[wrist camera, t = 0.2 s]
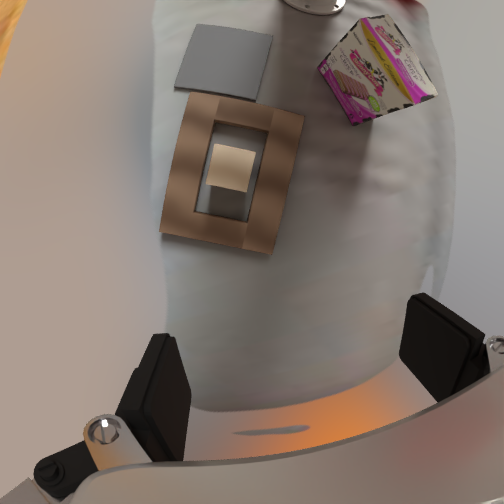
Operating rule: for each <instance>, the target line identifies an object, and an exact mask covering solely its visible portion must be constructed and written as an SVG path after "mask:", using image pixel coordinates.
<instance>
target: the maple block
mask: <svg viewBox="0 0 504 504" xmlns="http://www.w3.org/2000/svg"><path fill="white" fill-rule="evenodd" d="M255 154H256V152H253V151H249V150H244V149H240V148H235V147H230V146H225V145H220V144H215V145H214V149H213V153H212V157H211V161H210V166H209V170H208V175H207V179H206V184H209V185H214V186H219V187H224V188H229V189H234V190H238V191H243V192H247V188H248V184H249V180H250V175H251V171H252V167H253V162H254V158H255Z"/></svg>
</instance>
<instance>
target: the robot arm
mask: <svg viewBox="0 0 504 504" xmlns="http://www.w3.org/2000/svg"><path fill="white" fill-rule="evenodd" d="M283 1H285V2H286V3H287V4H289V5H290V6H292V7H294V8H296V9H298V10H301V11H304V12H307V13H311V14H317V15H329V14H334V13H336V12H338V11H340V10H341V9H342V8H343V6H344V5H345V3H346V0H283ZM484 337H485V334H484V333H483V332H481V331H480V330H479V329H477V328H476V327H474V326H473V325H472V324H470V323H469V322H467V321H466V320H464V319H463V318H462V317H460V316H459V315H457V314H456V313H454V312H453V311H451V310H450V309H448V308H447V307H445V306H444V305H442V304H441V303H439V302H438V301H436V300H435V299H433V298H432V297H430V296H429V295H427V294H426V293H419V294H415V295H412V296H411V298H410V299H409V300H408V303H407V309H406V316H405V323H404V329H403V334H402V340H401V345H400V350H399V356H400V359H401V360H402V362H403V363H404V364H405V365H406V366H407V367H408V368H409V370H410V371H411V372H412V373H413V374H414V375H415V376H416V378H417V379H418V380H419V381H420V382H421V383H422V385H423V386H424V387H425V388H426V389H427V391H428V392H429V393H430V394H431V395H432V396H433V397H434V399H435V400H436V401H437V402H438V403H436V404H434V405H433V406H431V407H429V408H426V409H424V410H422V411H420V412H418V413H415V414H413V415H411V416H409V417H406V418H404V419H401V420H399V421H396V422H394V423H391V424H389V425H386V426H383V427H381V428H378V429H375V430H372V431H369V432H366V433H363V434H360V435H357V436H353V437H350V438H347V439H343V440H340V441H336V442H333V443H329V444H324V445H320V446H316V447H312V448H307V449H302V450H297V451H291V452H286V453H280V454H273V455H266V456H258V457H249V458H239V459H227V460H211V461H210V460H209V461H183V458H184V449H185V441H186V433H187V426H188V418H189V411H190V404H191V389H190V386H189V383H188V380H187V377H186V373H185V370H184V367H183V364H182V360H181V357H180V353H179V350H178V346H177V343H176V339H175V337H170V335H169V334H168V333H162V334H153V336H152V338H151V340H150V342H149V344H148V347H147V349H146V351H145V353H144V355H143V358H142V360H141V362H140V364H139V367H138V368H135V370H134V371H133V373H132V375H131V378H130V380H129V382H128V384H127V387H126V389H125V391H124V394H123V396H122V398H121V401H120V403H119V405H118V408H117V410H116V413H115V415H111V414H104V415H100V416H97V417H95V418H93V419H91V420H90V421H89V422H88V423H87V424H86V426H85V428H84V432H83V436H84V441H82V442H79V443H78V444H75V445H73V446H71V447H69V448H66V449H64V450H62V451H60V452H57V453H55V454H53V455H50V456H48V457H45V458H44V459H42V460H40V461H39V462H38V463H37V464H36V466H35V469H34V479H33V480H31V479H30V478H27V479H26V480H25V481H23V482H22V483H21V484H19V485H18V486H17V487H16V488H14V489H13V490H11V491H10V492H9V493H8V494H6V495H5V496H3V497H2V498H1V499H0V504H504V337H503V336H492V337H490V338H488V339H487V342H486V344H483V340H484Z"/></svg>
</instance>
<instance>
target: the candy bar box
mask: <svg viewBox="0 0 504 504" xmlns="http://www.w3.org/2000/svg"><path fill="white" fill-rule="evenodd" d="M317 68H318V69H319V71H320V72H321V74H322V75H323V77H324V78H325V80H326V81H327V83H328V84H329V86H330V88H331V89H332V91H333V92H334V94H335V96H336V97H337V99H338V101H339V102H340V104H341V106H342V107H343V109H344V111H345V112H346V114H347V116H348V118H349V120H350V121H351V123H352V125H353V126H355V125H358V124H361V123H364V122H366V121H369V120H372V119H375V118H377V117H380V116H383V115H386V114H388V113H391V112H394V111H397V110H400V109H404V108H407V107H410V106H413V105H416V104H419V103H421V102H424V101H427V100H429V99H432V98H434V97H437V96H438V94H437V92H436V90H435V88H434V86H433V84H432V82H431V80H430V78H429V76H428V74H427V73H426V71H425V69H424V67H423V66H422V64H421V62H420V60H419V59H418V57H417V55H416V54H415V52H414V51H413V49H412V47H411V46H410V44H409V43H408V41H407V40H406V38H405V37H404V35H403V34H402V32H401V31H400V30H399V28H398V27H397V25H396V24H395V23H394V21H393V20H392V18H391V17H390V16H389V15H388V14H387V15H381V16H375V17H371V18H370V17H366V18H361V19H359V20H358V21H357V22H356V24H355V25H354V26H353V27H352V28H351V29H350V30H349V31H348V33H346V35H345V36H344V37H343V38H342V39H341V40H340V41H339V43H338V44H337V45H336V46H335V47H334V48H333V49H332V51H331V52H330V53H329V54H328V55H327V56H326V58H325V59H324V60H323V61H322V62H321V63H320V65H319V66H318V67H317Z"/></svg>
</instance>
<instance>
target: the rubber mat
mask: <svg viewBox="0 0 504 504" xmlns="http://www.w3.org/2000/svg"><path fill="white" fill-rule="evenodd" d="M272 38H273V36H271V35H267V34H262V33H258V32H253V31H247V30H242V29H236V28H229V27H222V26H214V25H205V24H197V25H196V27H195V29H194V32H193V34H192V37H191V39H190V42H189V44H188V47H187V50H186V52H185V55H184V58H183V61H182V64H181V66H180V69H179V72H178V75H177V78H176V81H175V84H174V87H175V88H184V89H192V90H199V91H206V92H213V93H219V94H224V95H230V96H235V97H240V98H245V99H249V100H254V101H256V97H257V93H258V90H259V86H260V82H261V78H262V74H263V71H264V67H265V63H266V60H267V56H268V53H269V49H270V45H271V42H272Z"/></svg>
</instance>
